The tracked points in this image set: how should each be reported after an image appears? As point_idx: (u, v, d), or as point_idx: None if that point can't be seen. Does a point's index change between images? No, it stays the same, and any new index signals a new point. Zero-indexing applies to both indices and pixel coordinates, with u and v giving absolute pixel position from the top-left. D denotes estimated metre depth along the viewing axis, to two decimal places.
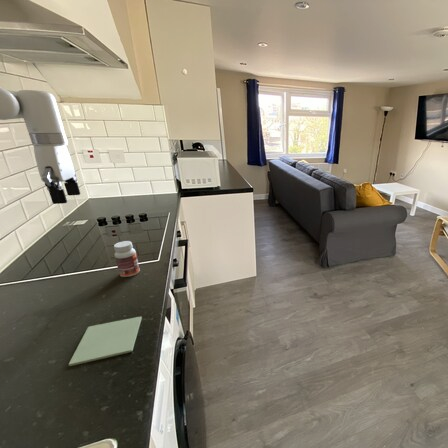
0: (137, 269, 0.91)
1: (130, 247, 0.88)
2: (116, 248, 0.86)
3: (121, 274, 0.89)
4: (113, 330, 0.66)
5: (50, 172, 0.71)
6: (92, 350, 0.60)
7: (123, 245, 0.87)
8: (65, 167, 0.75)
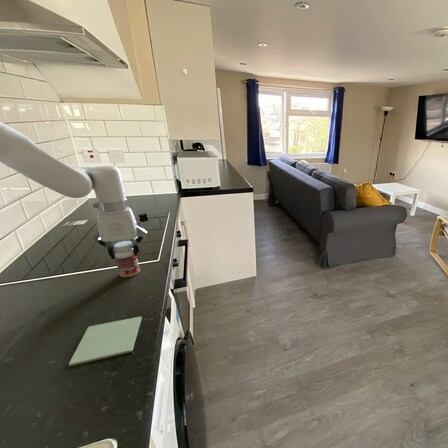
0: (137, 269, 0.91)
1: (130, 247, 0.88)
2: (116, 248, 0.86)
3: (121, 274, 0.89)
4: (113, 330, 0.66)
5: None
6: (92, 350, 0.60)
7: (123, 245, 0.87)
8: None
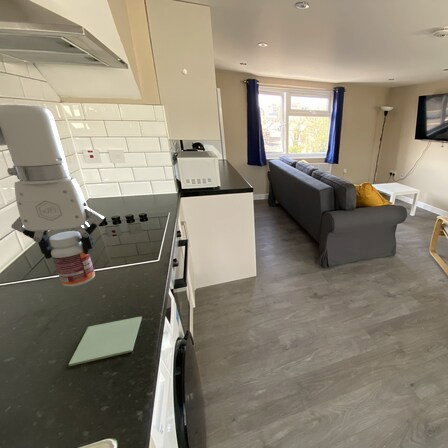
0: (90, 274, 0.60)
1: (76, 240, 0.57)
2: (52, 242, 0.55)
3: (63, 282, 0.58)
4: (113, 330, 0.66)
5: None
6: (92, 350, 0.60)
7: (64, 237, 0.56)
8: None
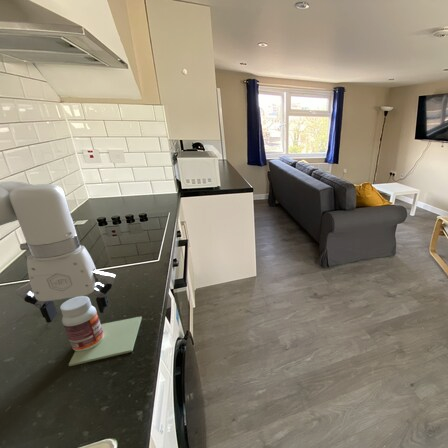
0: (99, 337, 0.62)
1: (86, 307, 0.58)
2: (63, 311, 0.56)
3: (73, 347, 0.59)
4: (113, 330, 0.66)
5: None
6: (92, 350, 0.60)
7: (74, 306, 0.57)
8: None
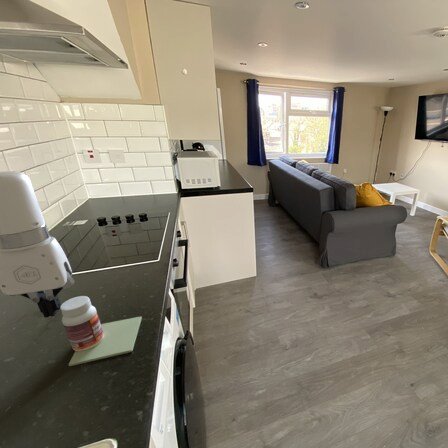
0: (99, 337, 0.62)
1: (86, 307, 0.58)
2: (63, 311, 0.56)
3: (73, 347, 0.59)
4: (113, 330, 0.66)
5: None
6: (92, 350, 0.60)
7: (74, 306, 0.57)
8: None
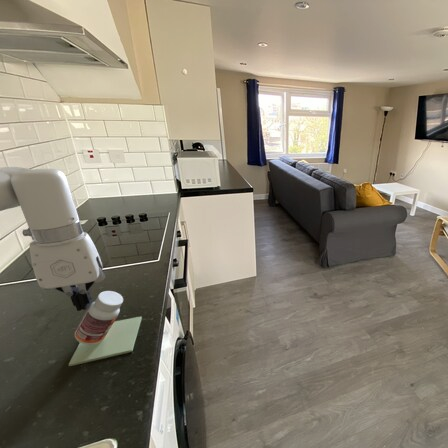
0: (104, 336, 0.62)
1: (118, 307, 0.61)
2: (100, 303, 0.58)
3: (78, 337, 0.59)
4: (113, 330, 0.66)
5: None
6: (92, 350, 0.60)
7: (111, 302, 0.59)
8: None
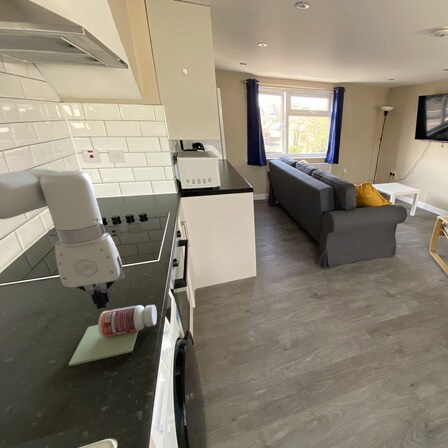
0: (109, 335, 0.63)
1: (149, 325, 0.65)
2: (149, 310, 0.65)
3: (104, 316, 0.62)
4: None
5: None
6: (92, 350, 0.60)
7: (152, 317, 0.66)
8: None
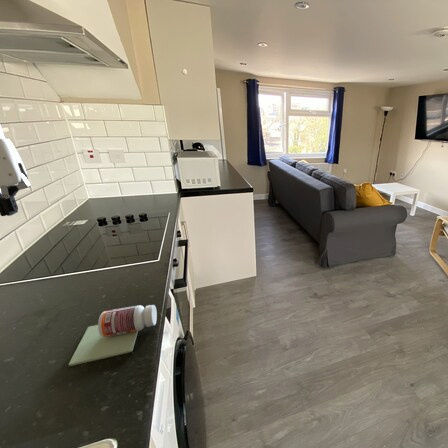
0: (109, 335, 0.63)
1: (149, 325, 0.65)
2: (149, 310, 0.65)
3: (104, 317, 0.62)
4: None
5: None
6: (92, 350, 0.60)
7: (152, 317, 0.65)
8: None
